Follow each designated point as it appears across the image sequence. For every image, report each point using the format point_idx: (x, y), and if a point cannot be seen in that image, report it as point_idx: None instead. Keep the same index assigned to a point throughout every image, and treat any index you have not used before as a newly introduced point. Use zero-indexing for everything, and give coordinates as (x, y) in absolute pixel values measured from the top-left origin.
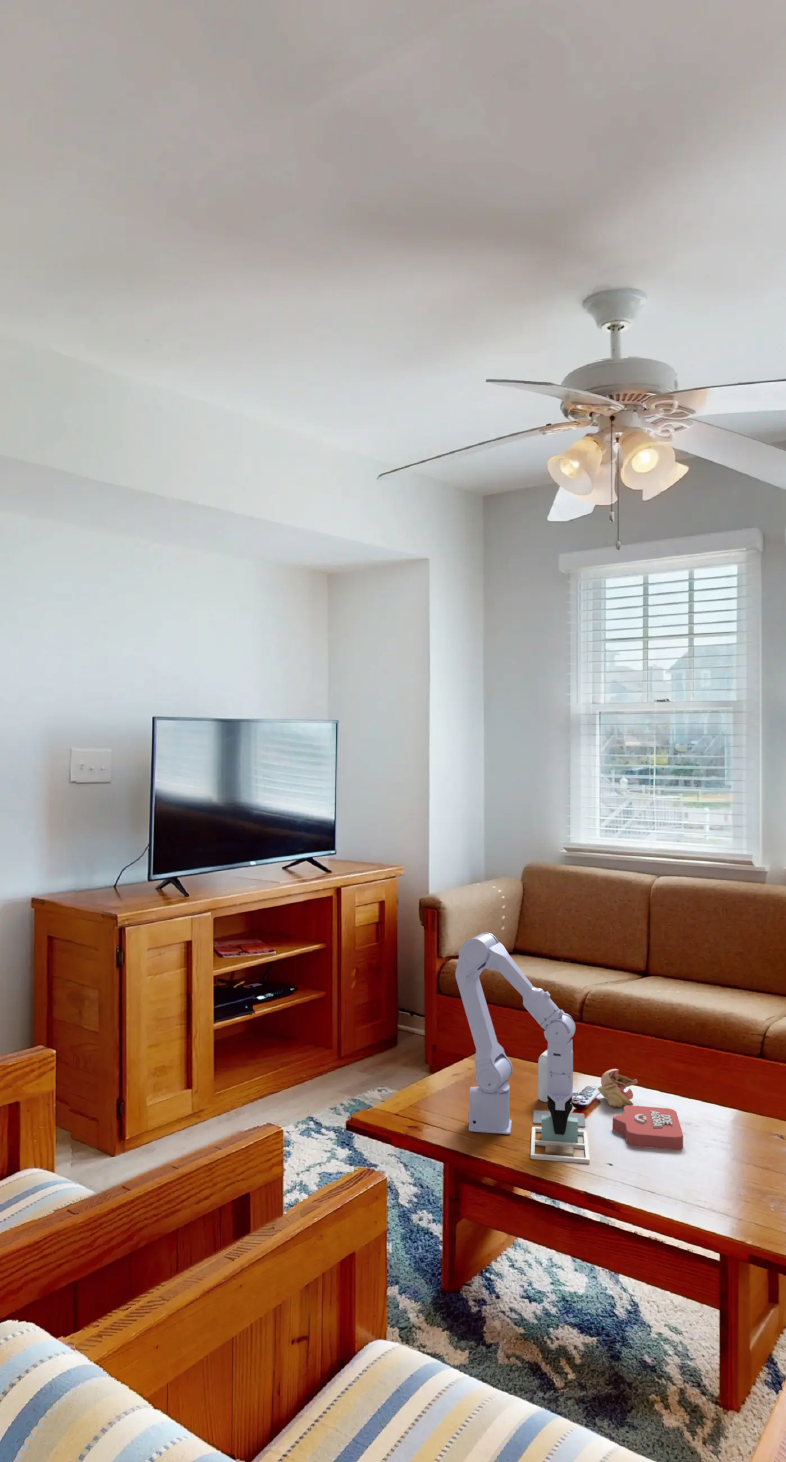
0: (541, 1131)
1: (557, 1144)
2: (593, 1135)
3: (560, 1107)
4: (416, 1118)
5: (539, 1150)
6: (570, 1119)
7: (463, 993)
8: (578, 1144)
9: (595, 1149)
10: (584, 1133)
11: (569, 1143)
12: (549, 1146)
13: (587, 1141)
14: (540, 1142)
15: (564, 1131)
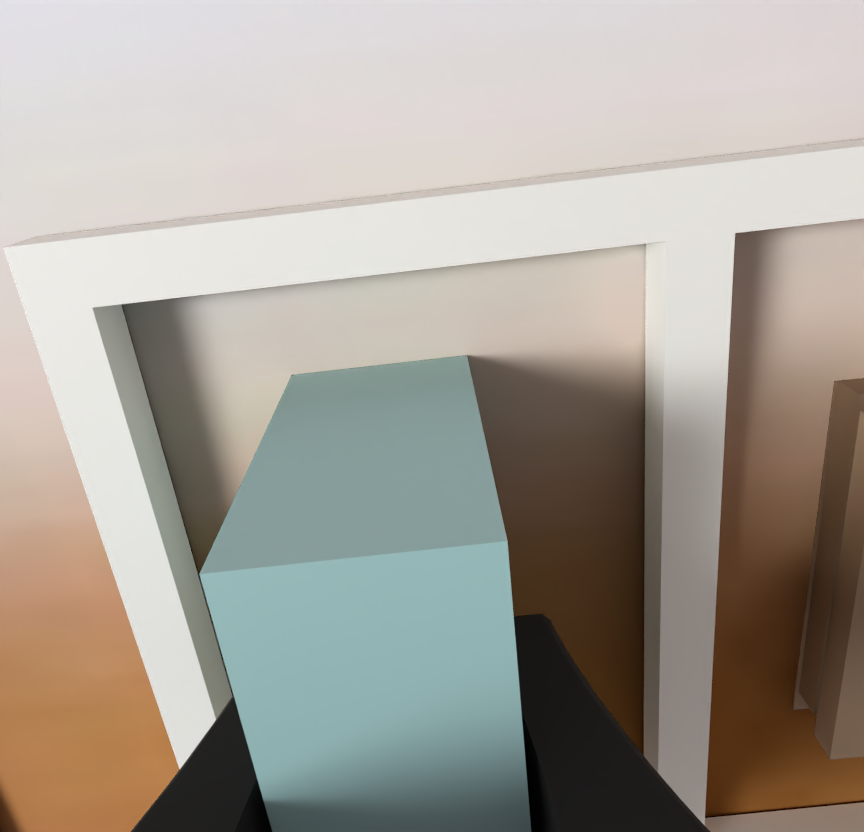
0: None
1: (704, 622)
2: (17, 107)
3: None
4: None
5: (835, 762)
6: (387, 715)
7: None
8: (725, 342)
9: (692, 15)
10: (169, 282)
11: (704, 483)
12: None
13: (550, 192)
14: (700, 804)
15: (566, 651)
